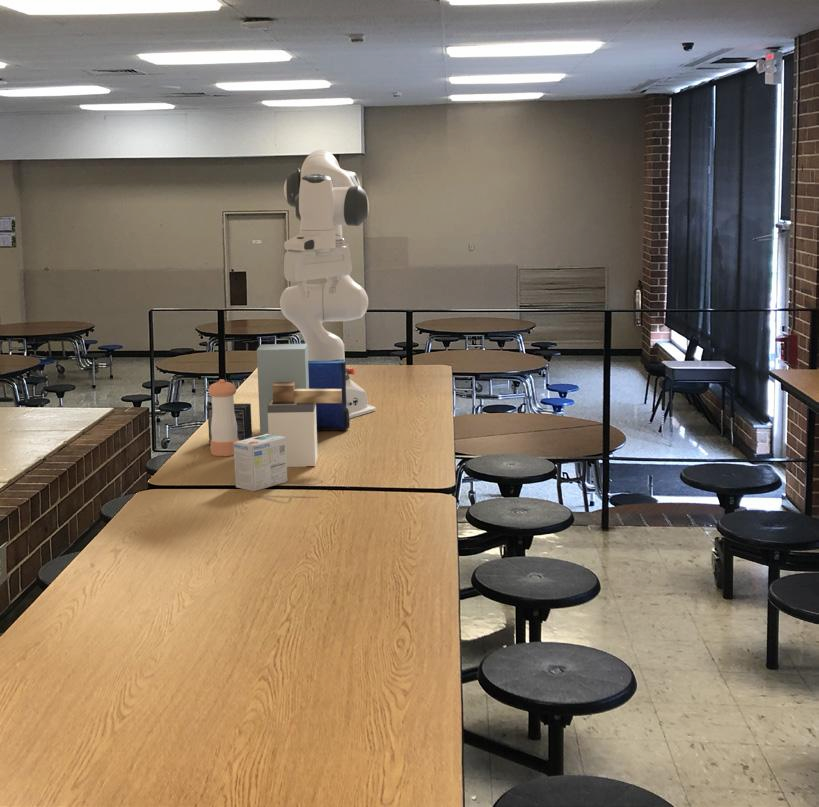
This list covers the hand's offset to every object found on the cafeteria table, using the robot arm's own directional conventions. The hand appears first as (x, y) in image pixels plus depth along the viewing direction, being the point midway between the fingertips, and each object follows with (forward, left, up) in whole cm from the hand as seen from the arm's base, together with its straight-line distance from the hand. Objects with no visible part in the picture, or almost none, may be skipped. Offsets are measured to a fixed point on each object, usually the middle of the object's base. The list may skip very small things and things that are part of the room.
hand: (319, 296), depth 281 cm
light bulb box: (+33, +15, -40) cm, 54 cm away
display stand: (+7, -7, -40) cm, 41 cm away
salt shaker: (+19, -17, -40) cm, 47 cm away
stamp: (+11, +7, -25) cm, 28 cm away
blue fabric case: (-16, -18, -40) cm, 46 cm away
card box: (+14, +4, -40) cm, 42 cm away
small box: (+11, -25, -40) cm, 48 cm away
